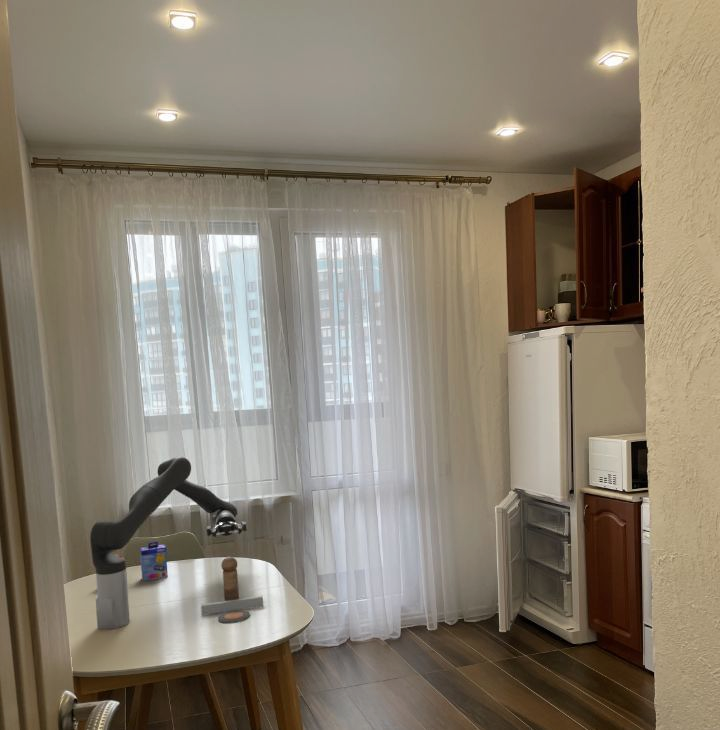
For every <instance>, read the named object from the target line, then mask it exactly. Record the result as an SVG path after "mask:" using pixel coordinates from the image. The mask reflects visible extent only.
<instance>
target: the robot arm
mask: <svg viewBox="0 0 720 730" xmlns="http://www.w3.org/2000/svg"><path fill="white" fill-rule="evenodd" d="M191 472H192V465H191V462H190V460H189V459H188V458H186V457H184V456H176V457H174V458H171V459H167V460H165V461H163V462H162V463H160V464H159V465H158V467H157V476H156V477H154V478H152V479H151V480H150V481H147V483H145V484H143V485H142V486H141V487H139V488H138V490H137V491H136V492H134V493H133V495H132V496H131V497H130V500H129V502H128V512H127V513H126V514H125V515H124V516H123V517H122V518H120V519H117V520H99V521H97V522H96V523H94V524H93V525H92V528H91V530H90V536H89V539H90V540H89V542H90V549H91V557H92V564H93V566H94V568H95V576H96V577H95V578H96V591H97V597H96V598H95V608H96V622H97V623H96V625H97V627H96V628H97V629H98V630H115V629H118V628H122V627H124V626H126V625H128V624H129V623H130V622H131V620H130V619H131V618H130V604H129V603H130V601H129V593H128V592H129V590H128V573H127V568H126V564H127V562H126V559H125V558H124V557H123V558H124V559H125V560H124V559H123V558H121V557H119V556H120V555H119V556H117V555H118V554H117V553H116V552H115V553H116V554H117V555H116V554H115V553H114V551H113V550H116V551H117V550H121V549H123V548H124V547H125V546H127V544H129V542H130V541H131V539H132V538H133V537H134V535H135V534H136V533H137V531H138V529H139V528H140V527H141V526H142V525H143V524H144V522H145V521H146V520H147V519H148V518H149V517H150V516H151V515H152V514H153V513H154V512H155V511H156V510H157V509H158V507H160V506H161V504H162V503H163V502H164V501H165V500H166V499H167V497H169V496H170V494H171V493H172V492H173V491H174V490H175V491H176V492H178V493H179V494H181V495H183V496H184V497H186V498H188V499H190V500H191V501H193V502H194V503H195V504H197V505H198V506H199V507H200V508H201V509H202V510H204V511H205V512H206V513H207V514H209V515H210V514H213V515H212V516H211V522H212V524H213V525H214V526H212V525H207V526H206V535H207V536H208V537H210V536H211V535H212V536H213V537H214V538H216V537H217V536H219V535H221V536H222V537H224V536H225V537H228V536H231V535H232V534H236V533H237V534H238V535H240V534H241V533H242V532H247V531H248V529H247V522H246V521H245V520H244V521H243V520H242V521H241V522H240V523H238V522H237V520H236V517H237V516H238V508H237V507H236V506H235V505H234V504H232V503H230V502H227V501H225V500H223V499H221V498H219V497H217V495H216V494H214V493H213V492H212V491H211V490H209V489H208V488H206V487H204V486H202V485H199V484H196V483H193V482H190V481H188V480H187V479H189V477H190V475H191Z"/></svg>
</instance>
